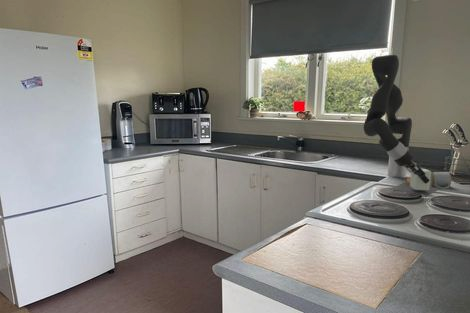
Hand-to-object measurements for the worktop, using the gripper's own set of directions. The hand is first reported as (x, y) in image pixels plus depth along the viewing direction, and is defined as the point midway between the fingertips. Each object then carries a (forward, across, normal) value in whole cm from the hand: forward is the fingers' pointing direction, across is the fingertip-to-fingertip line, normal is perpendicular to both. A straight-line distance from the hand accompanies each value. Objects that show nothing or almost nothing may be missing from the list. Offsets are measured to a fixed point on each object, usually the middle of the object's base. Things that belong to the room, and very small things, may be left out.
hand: (424, 180), depth 149 cm
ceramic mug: (+14, +13, -5) cm, 19 cm away
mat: (+3, +5, +5) cm, 8 cm away
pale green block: (+1, 0, +4) cm, 4 cm away
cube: (+3, +11, +4) cm, 12 cm away
